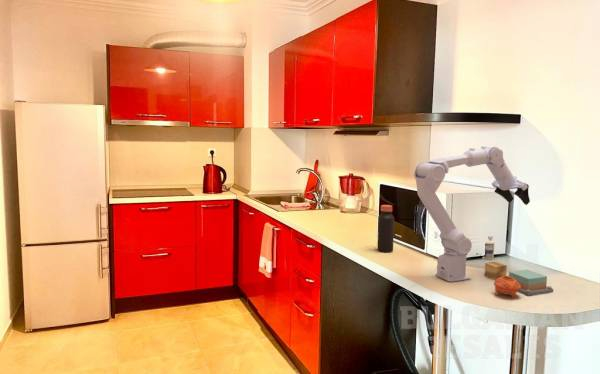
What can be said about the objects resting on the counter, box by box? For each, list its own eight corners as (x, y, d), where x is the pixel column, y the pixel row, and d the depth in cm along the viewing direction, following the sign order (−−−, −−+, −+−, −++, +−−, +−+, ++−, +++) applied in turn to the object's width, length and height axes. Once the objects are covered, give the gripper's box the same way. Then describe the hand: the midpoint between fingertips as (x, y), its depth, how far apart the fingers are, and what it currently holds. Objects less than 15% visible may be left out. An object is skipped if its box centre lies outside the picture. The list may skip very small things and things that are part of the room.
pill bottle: (481, 255, 194) (483, 232, 193) (495, 257, 190) (496, 234, 189) (477, 258, 190) (479, 235, 188) (491, 260, 186) (492, 237, 185)
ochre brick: (495, 280, 162) (495, 266, 161) (484, 276, 166) (485, 262, 166) (505, 278, 163) (506, 265, 163) (495, 274, 168) (496, 261, 167)
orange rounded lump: (495, 287, 153) (501, 269, 151) (519, 298, 148) (526, 280, 146) (487, 293, 147) (493, 274, 145) (511, 304, 142) (518, 285, 140)
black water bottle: (380, 248, 204) (381, 204, 202) (395, 250, 201) (396, 205, 198) (374, 251, 199) (376, 206, 196) (389, 253, 195) (391, 207, 193)
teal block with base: (528, 296, 146) (529, 281, 145) (501, 285, 156) (502, 271, 156) (553, 291, 150) (554, 277, 149) (525, 281, 160) (526, 267, 160)
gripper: (525, 167, 159) (542, 196, 163) (493, 166, 173) (510, 193, 177) (512, 180, 158) (530, 209, 162) (482, 178, 171) (499, 205, 175)
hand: (519, 201), depth 169 cm, fingers open, 7 cm apart
